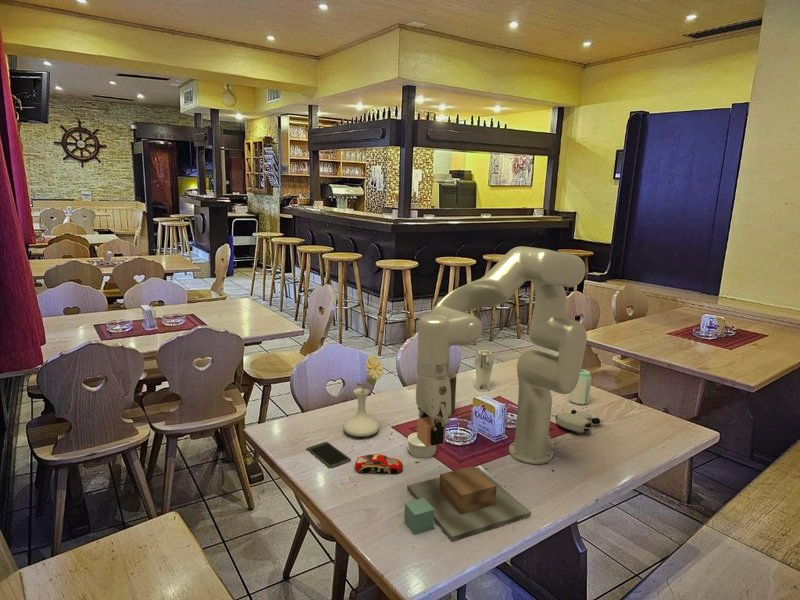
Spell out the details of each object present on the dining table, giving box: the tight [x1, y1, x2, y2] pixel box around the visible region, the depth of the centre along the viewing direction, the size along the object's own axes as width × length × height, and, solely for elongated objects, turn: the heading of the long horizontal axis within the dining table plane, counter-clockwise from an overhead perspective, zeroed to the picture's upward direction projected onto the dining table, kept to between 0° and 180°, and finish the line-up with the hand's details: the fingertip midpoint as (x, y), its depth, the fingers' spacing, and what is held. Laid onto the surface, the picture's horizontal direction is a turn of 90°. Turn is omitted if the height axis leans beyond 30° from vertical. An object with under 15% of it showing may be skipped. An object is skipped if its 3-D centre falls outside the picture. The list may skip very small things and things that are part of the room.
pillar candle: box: [437, 370, 457, 416], centre depth 179 cm, size 10×10×15 cm
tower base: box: [406, 465, 532, 542], centre depth 127 cm, size 22×22×6 cm
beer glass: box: [474, 349, 494, 392], centre depth 201 cm, size 7×7×15 cm
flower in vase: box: [342, 354, 384, 438], centre depth 161 cm, size 13×11×25 cm
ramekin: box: [407, 431, 437, 459], centre depth 151 cm, size 9×9×4 cm
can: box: [568, 368, 592, 406], centre depth 190 cm, size 7×7×12 cm
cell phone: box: [305, 441, 352, 469], centre depth 148 cm, size 7×14×1 cm, turn 40°
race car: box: [354, 453, 404, 475], centre depth 141 cm, size 13×5×4 cm, turn 88°
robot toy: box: [551, 409, 604, 434], centre depth 171 cm, size 12×4×15 cm
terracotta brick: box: [416, 416, 447, 447], centre depth 124 cm, size 5×5×5 cm
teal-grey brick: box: [403, 498, 435, 535], centre depth 118 cm, size 5×5×5 cm
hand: (431, 438), depth 124 cm, fingers closed on terracotta brick, 4 cm apart
